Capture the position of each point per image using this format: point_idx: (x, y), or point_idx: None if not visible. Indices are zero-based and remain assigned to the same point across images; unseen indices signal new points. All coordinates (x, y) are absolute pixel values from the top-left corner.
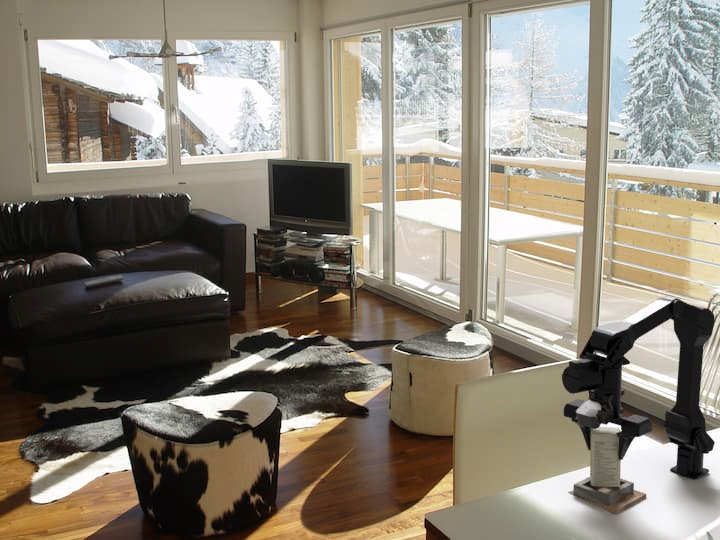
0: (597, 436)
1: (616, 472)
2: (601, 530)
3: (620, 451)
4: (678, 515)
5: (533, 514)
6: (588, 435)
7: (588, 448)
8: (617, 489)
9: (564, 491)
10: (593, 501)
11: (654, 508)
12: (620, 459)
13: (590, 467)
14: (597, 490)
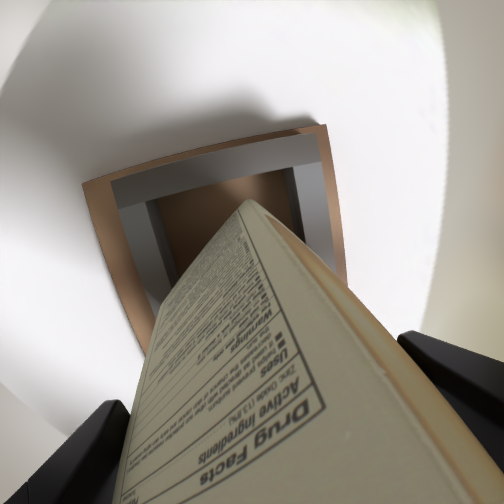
0: None
1: (157, 336)
2: (33, 55)
3: (67, 454)
4: (32, 351)
5: None
6: (491, 414)
7: (415, 335)
8: (154, 285)
9: (357, 148)
10: (192, 156)
11: (82, 335)
12: (101, 405)
13: (325, 265)
14: (191, 188)
